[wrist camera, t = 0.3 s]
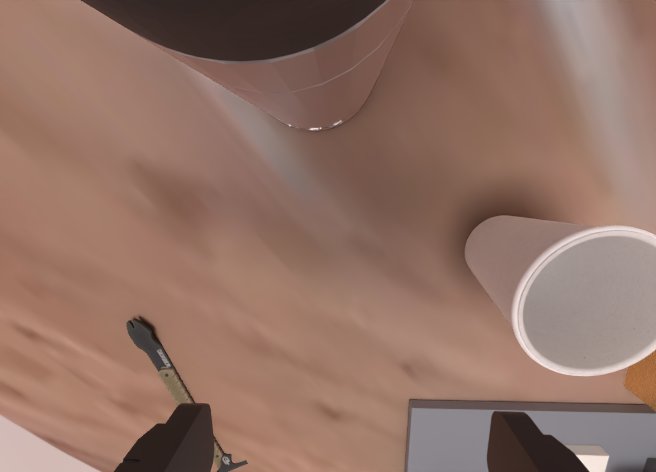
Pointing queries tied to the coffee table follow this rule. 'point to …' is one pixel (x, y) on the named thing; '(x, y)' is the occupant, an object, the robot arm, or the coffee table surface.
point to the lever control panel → (551, 418)
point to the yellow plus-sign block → (643, 379)
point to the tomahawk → (173, 381)
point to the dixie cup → (570, 290)
